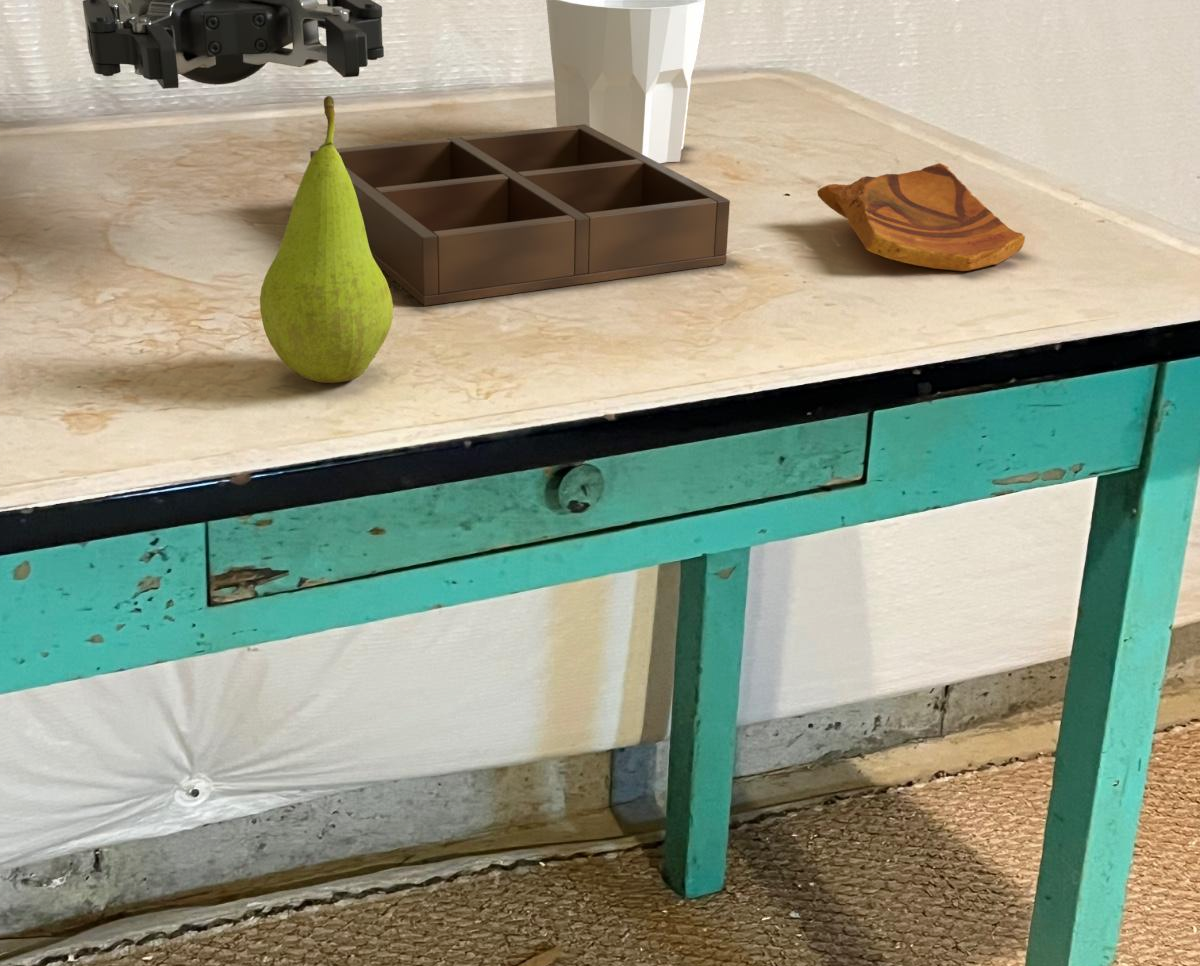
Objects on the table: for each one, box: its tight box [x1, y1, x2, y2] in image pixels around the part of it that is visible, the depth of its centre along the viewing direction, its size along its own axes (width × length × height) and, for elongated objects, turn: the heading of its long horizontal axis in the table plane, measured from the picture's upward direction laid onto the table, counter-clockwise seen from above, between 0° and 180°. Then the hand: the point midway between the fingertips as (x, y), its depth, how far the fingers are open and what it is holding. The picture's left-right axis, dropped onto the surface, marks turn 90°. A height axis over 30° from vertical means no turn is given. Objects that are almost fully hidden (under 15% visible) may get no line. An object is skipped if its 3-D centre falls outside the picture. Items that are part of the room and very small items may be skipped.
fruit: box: [259, 95, 394, 384], centre depth 73 cm, size 6×6×12 cm
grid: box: [309, 124, 731, 307], centre depth 94 cm, size 17×17×4 cm
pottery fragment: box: [816, 162, 1026, 272], centre depth 94 cm, size 10×5×10 cm
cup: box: [545, 0, 707, 164], centre depth 109 cm, size 10×10×10 cm
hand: (262, 60), depth 79 cm, fingers open, 8 cm apart
